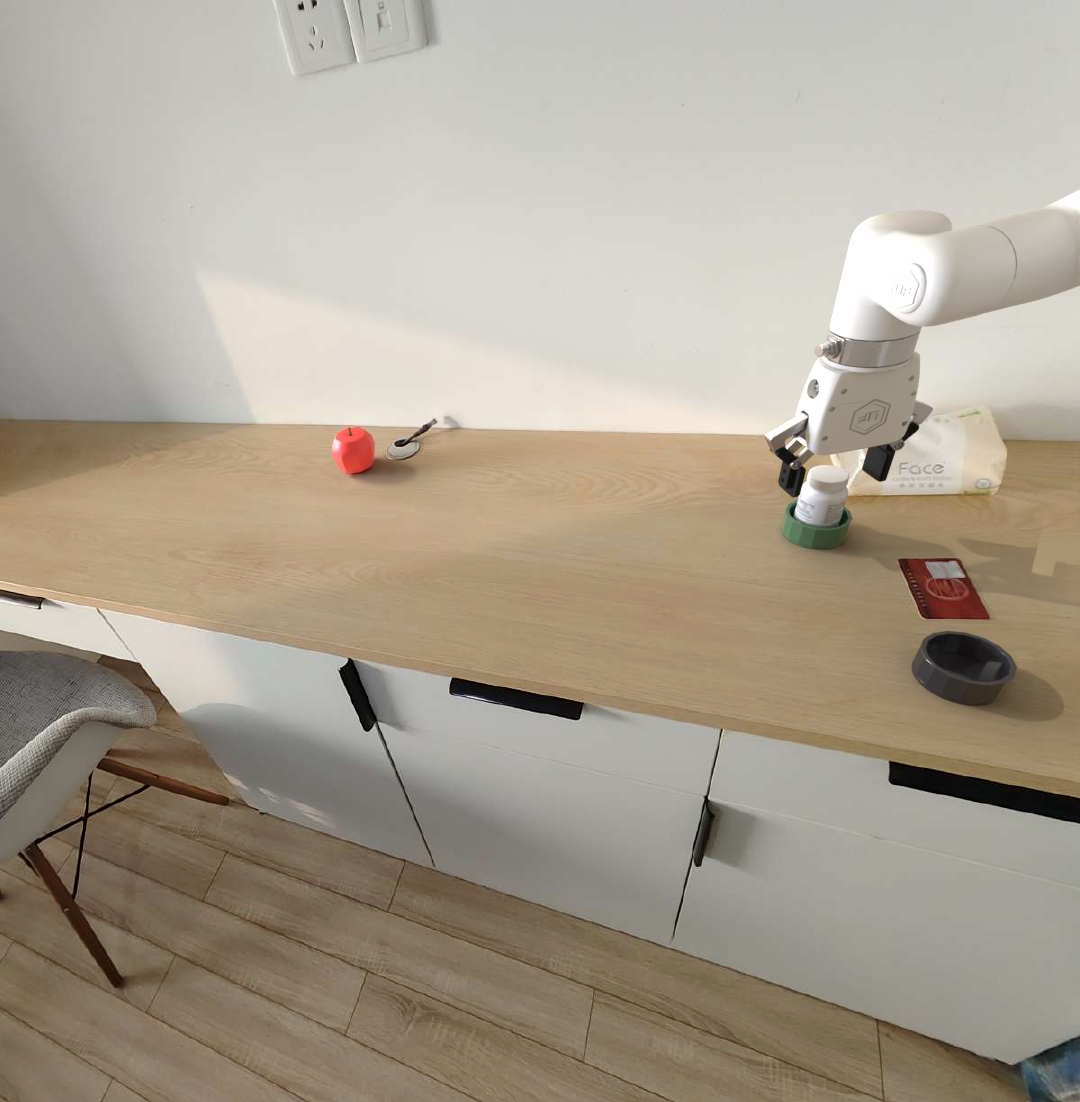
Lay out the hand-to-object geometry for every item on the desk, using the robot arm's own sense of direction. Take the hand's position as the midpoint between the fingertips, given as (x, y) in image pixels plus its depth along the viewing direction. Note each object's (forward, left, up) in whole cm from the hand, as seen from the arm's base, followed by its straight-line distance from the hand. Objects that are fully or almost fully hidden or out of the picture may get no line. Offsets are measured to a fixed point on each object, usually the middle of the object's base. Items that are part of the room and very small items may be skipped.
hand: (830, 483), depth 78 cm
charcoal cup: (-16, +17, -8) cm, 25 cm away
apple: (+68, +13, -8) cm, 69 cm away
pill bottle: (0, 0, -8) cm, 8 cm away
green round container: (0, 0, -8) cm, 8 cm away
